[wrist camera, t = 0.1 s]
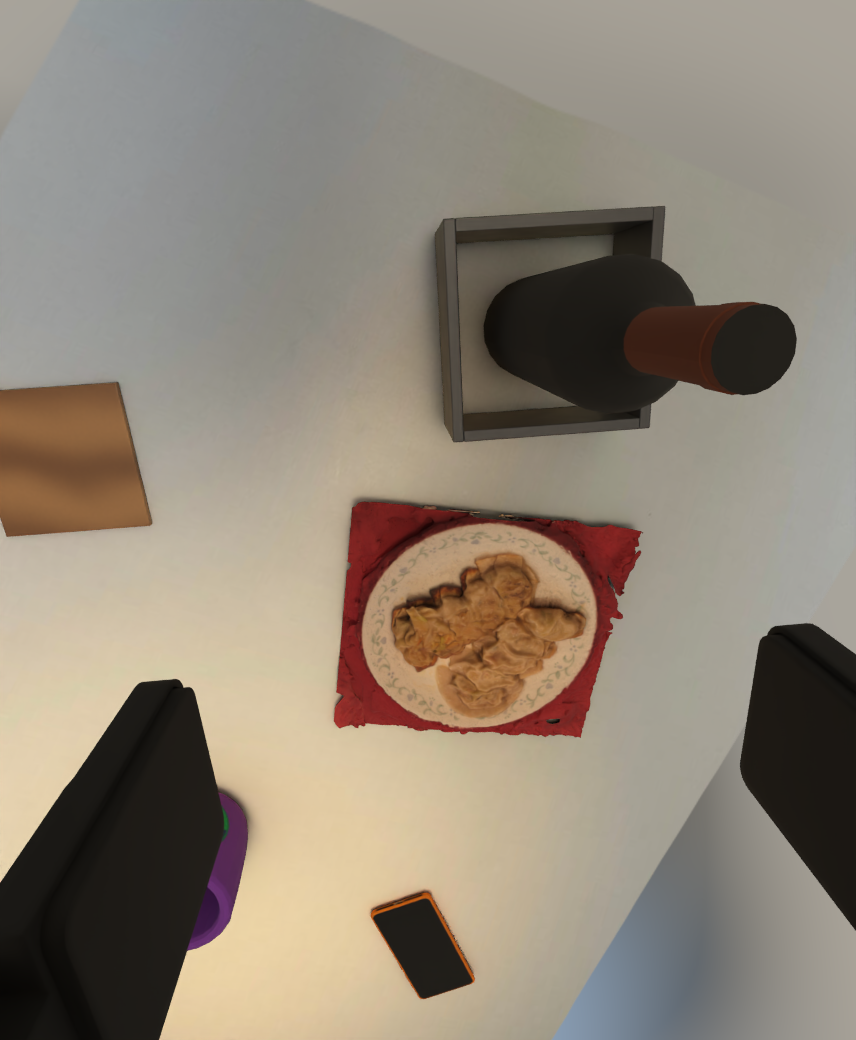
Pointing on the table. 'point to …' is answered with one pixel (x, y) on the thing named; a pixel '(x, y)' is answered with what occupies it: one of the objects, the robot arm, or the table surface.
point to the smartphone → (423, 945)
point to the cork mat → (68, 461)
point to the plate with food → (476, 619)
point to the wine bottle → (632, 335)
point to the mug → (222, 877)
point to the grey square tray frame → (631, 236)
